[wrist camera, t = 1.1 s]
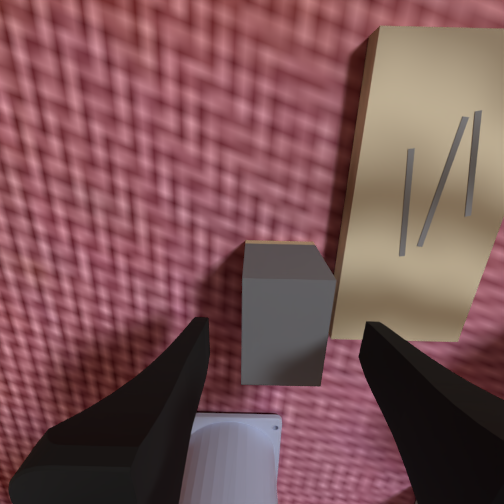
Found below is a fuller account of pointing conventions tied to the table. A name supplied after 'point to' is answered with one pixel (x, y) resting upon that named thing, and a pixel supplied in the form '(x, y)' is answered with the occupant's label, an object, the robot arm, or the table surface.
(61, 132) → the table surface
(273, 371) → the block
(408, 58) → the pine board
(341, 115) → the table surface
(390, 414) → the robot arm
